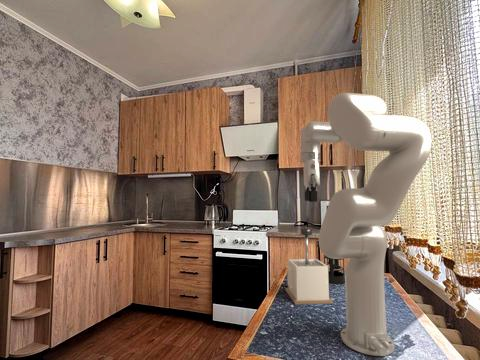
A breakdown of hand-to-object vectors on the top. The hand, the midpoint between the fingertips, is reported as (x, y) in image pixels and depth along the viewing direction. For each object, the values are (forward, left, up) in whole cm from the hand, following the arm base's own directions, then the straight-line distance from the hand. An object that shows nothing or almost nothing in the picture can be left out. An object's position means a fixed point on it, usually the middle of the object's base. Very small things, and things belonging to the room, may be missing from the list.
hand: (310, 201), depth 99 cm
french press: (+20, -18, -37) cm, 46 cm away
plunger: (+2, +1, -25) cm, 26 cm away
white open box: (+2, +1, -37) cm, 37 cm away
